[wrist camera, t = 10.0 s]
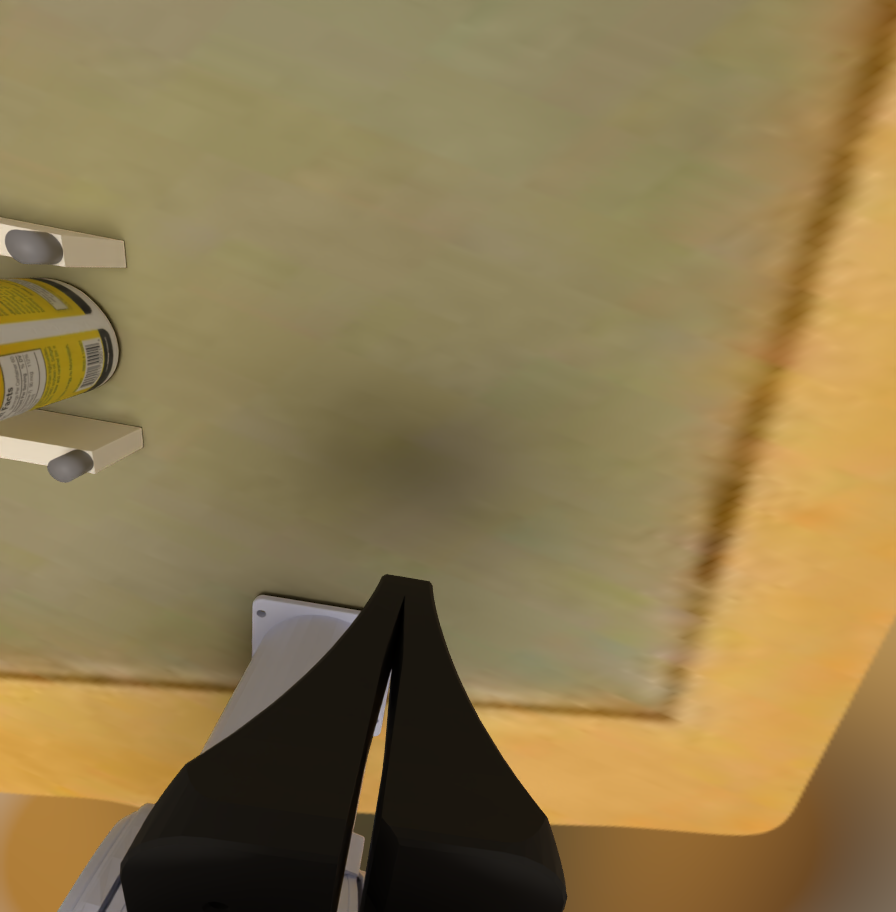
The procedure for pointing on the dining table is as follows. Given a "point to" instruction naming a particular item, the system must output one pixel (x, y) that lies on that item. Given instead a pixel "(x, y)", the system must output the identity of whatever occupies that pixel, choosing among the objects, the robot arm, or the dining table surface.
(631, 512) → the dining table surface
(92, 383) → the supplement bottle
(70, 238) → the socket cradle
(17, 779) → the dining table surface
